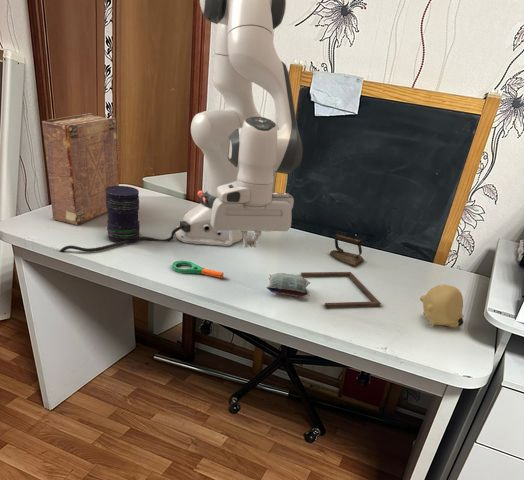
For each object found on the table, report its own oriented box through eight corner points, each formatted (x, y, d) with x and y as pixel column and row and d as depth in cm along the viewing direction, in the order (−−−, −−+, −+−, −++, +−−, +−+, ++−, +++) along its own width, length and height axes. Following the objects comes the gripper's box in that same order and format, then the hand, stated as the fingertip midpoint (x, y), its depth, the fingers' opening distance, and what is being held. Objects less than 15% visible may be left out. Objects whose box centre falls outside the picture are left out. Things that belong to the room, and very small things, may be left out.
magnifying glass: (168, 269, 141) (168, 264, 140) (178, 262, 146) (178, 257, 145) (217, 282, 138) (218, 276, 137) (226, 274, 143) (226, 269, 142)
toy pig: (440, 343, 131) (479, 322, 127) (421, 311, 125) (461, 289, 121) (429, 323, 139) (465, 303, 135) (410, 292, 133) (447, 271, 130)
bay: (325, 308, 132) (326, 304, 132) (300, 275, 148) (301, 272, 148) (380, 306, 137) (380, 303, 136) (349, 274, 153) (350, 271, 152)
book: (98, 201, 184) (92, 112, 168) (120, 206, 182) (116, 117, 166) (52, 219, 163) (41, 120, 147) (77, 225, 161) (68, 126, 145)
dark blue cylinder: (129, 246, 152) (127, 197, 144) (101, 239, 154) (98, 190, 146) (145, 236, 160) (145, 190, 152) (119, 230, 162) (117, 183, 154)
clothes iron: (356, 269, 158) (355, 239, 153) (325, 266, 164) (322, 237, 159) (365, 261, 163) (364, 231, 158) (334, 258, 169) (332, 230, 164)
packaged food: (268, 282, 142) (270, 266, 139) (309, 288, 141) (312, 272, 139) (265, 295, 134) (267, 279, 132) (308, 302, 134) (311, 285, 131)
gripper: (290, 189, 125) (283, 242, 133) (210, 187, 120) (208, 242, 127) (299, 196, 120) (291, 251, 128) (215, 194, 115) (212, 251, 122)
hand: (249, 246), depth 127 cm, fingers closed
